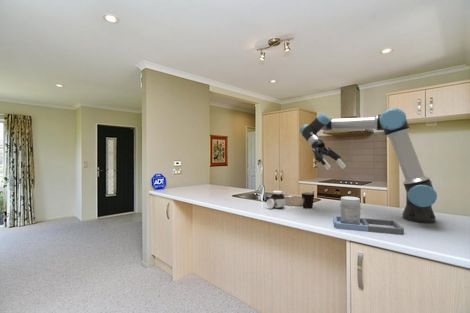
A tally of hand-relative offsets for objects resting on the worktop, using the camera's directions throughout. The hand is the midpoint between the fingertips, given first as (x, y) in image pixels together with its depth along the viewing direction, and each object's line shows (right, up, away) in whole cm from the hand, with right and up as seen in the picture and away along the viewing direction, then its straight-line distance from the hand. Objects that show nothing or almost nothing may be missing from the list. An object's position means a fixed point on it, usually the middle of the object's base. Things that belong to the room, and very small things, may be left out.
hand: (336, 168), depth 140 cm
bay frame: (+9, -30, -15) cm, 34 cm away
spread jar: (-31, -30, +27) cm, 51 cm away
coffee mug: (-8, -29, +31) cm, 43 cm away
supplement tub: (+2, -30, -13) cm, 33 cm away
